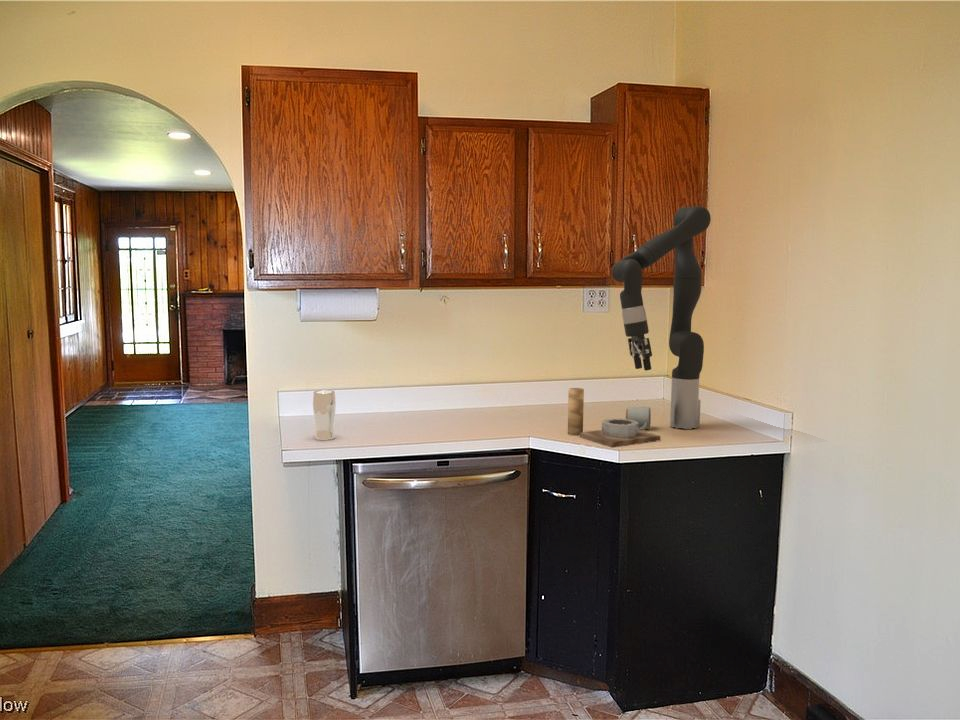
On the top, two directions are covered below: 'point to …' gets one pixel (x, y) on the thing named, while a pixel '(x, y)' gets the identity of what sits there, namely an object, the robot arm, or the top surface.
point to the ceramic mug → (640, 416)
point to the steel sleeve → (620, 428)
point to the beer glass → (324, 414)
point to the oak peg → (575, 411)
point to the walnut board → (613, 442)
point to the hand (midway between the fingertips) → (643, 369)
